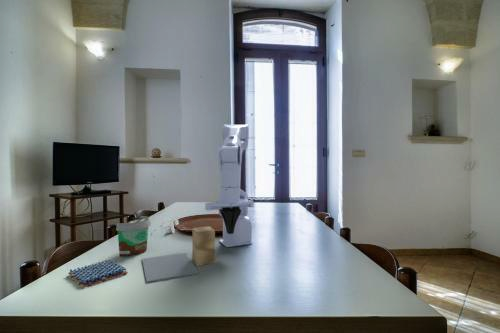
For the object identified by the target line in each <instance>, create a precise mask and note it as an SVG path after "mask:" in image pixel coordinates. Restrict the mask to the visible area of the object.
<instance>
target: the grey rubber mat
mask: <svg viewBox="0 0 500 333" xmlns="http://www.w3.org/2000/svg"><path fill="white" fill-rule="evenodd" d="M141 261H142V266H143V272H144V275H145V281H146V282H145V283H146V284H149V283H155V282H156V283H157V282H161V281H165V280H171V279H178V278H182V277H188V276H194V275H199V271H198V269H197V268H196V266H195V265H194V263H193V262H192V261H191V259H190V258H189V256H188V255H187V254H186V252H179V253H174V254H166V255H160V256H159V255H157V256H154V257H153V256H151V257H145V258H142V259H141Z"/></svg>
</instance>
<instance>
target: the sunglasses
mask: <svg viewBox="0 0 500 333" xmlns="http://www.w3.org/2000/svg"><path fill="white" fill-rule="evenodd" d="M167 222H169V223H170V224H169V225H168V226H166V227H164V229H166V228H170V231H171V234H174V233H175V232H176V231H175V230H176V227H175V228H174V225H178V224H179V225H180V222H179V218H178V216H176V217H175V218H174V219H173V220H167ZM167 222H166V221H165V222H163V224H166V223H167ZM163 224H161V225H160V230H162V229H163V227H162V226H163ZM161 227H162V228H161ZM153 232H156V229H154V230H153ZM153 232H151V235H152V234H153Z"/></svg>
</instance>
